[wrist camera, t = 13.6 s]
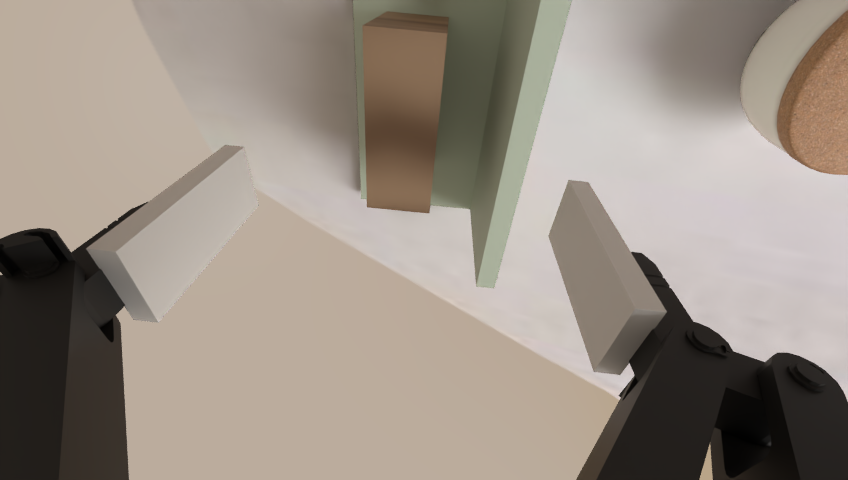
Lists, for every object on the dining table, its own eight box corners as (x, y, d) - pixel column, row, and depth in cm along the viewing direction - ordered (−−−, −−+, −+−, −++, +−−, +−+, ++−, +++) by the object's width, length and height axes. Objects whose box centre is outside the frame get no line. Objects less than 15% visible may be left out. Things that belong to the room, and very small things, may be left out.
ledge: (354, -65, 22) (287, -93, 13) (533, -50, 21) (589, -66, 13) (363, 192, 32) (331, 272, 24) (482, 203, 32) (494, 288, 24)
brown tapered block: (385, 11, 23) (359, 25, 16) (448, 17, 23) (447, 33, 16) (384, 155, 29) (364, 206, 22) (434, 160, 29) (429, 213, 22)
